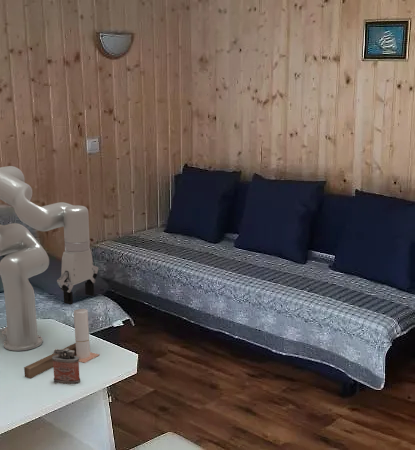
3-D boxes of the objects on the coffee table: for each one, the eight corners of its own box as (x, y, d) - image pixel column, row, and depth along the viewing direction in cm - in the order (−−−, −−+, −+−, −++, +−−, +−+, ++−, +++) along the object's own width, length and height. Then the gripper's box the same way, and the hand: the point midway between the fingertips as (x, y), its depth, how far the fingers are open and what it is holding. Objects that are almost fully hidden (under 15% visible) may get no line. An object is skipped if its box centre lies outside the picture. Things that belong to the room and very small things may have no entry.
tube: (87, 359, 213) (84, 313, 210) (74, 358, 214) (71, 313, 210) (92, 353, 217) (89, 309, 214) (79, 352, 218) (76, 308, 215)
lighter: (82, 380, 199) (80, 348, 197) (77, 385, 195) (75, 352, 193) (56, 378, 200) (54, 346, 198) (51, 382, 197) (49, 350, 195)
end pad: (70, 359, 214) (70, 358, 214) (85, 351, 219) (85, 350, 219) (84, 363, 210) (84, 362, 210) (99, 355, 216) (99, 354, 216)
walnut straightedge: (24, 376, 201) (24, 367, 201) (80, 349, 221) (79, 340, 221) (30, 378, 200) (29, 369, 199) (85, 350, 220) (85, 342, 219)
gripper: (87, 238, 217) (88, 289, 220) (47, 250, 202) (50, 304, 206) (105, 241, 213) (106, 293, 217) (66, 254, 199) (68, 309, 202)
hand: (79, 299), depth 211 cm, fingers open, 9 cm apart
